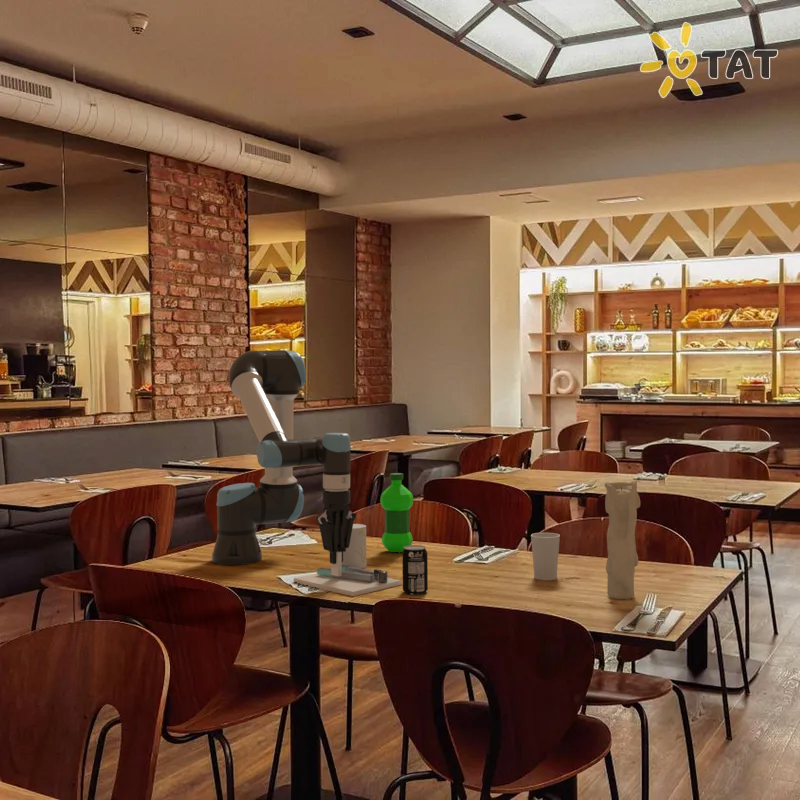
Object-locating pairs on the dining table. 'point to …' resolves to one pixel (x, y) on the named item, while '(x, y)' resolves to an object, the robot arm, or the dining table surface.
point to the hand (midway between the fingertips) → (336, 575)
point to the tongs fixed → (377, 573)
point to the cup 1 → (356, 548)
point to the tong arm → (347, 575)
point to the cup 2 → (545, 555)
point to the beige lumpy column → (621, 538)
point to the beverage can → (415, 570)
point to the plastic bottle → (396, 515)
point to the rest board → (345, 584)
